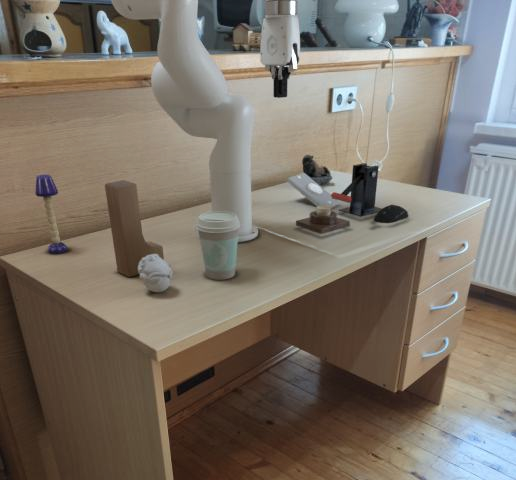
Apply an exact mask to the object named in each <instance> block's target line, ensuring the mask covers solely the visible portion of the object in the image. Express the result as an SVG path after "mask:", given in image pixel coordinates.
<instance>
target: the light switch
mask: <svg viewBox="0 0 516 480" xmlns="http://www.w3.org/2000/svg"><path fill="white" fill-rule="evenodd" d="M286 182H287V183H288V184H289V185H291V186H292V187H293V189H295V190H296V191H298V192H299V193H300V194H301V195H303V197H305V198H306V199H307V200H308V201H310V202H311V203H312V204H313V205H314V206H316V207H317V206H319V205H327V206H330V207H332V206H335V205H337V204H339V203H341V202H340V200H336V199H332V197H331V193H329V192H328V191H327V190H326V189H325V188H323V187H322V185H318V184H317V183H316V182H315V181H314V180H312V179H311V178H310V177H309V176H307V175H306V174H305V173H303V172H302V173H299V174H296V175H292V176H289V177H287V179H286Z"/></svg>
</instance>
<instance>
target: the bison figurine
mask: <svg viewBox="0 0 516 480" xmlns="http://www.w3.org/2000/svg"><path fill="white" fill-rule="evenodd" d="M301 165H302V173H305V174H306V175H307V176H309V177H310V178H311V179H312V180H314V181H315V182H316V183H317V184H318V185H320V186H322V185H327V184H329V183H330V182H331V181H332V180H333V176H332V174H331V171H330V169H328V167H327V166H326V165H323V164H319V163H318V162H316V161H315V160H314V155H311V154H305V155H304V156H303V157H302V160H301Z"/></svg>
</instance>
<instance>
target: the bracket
mask: <svg viewBox="0 0 516 480" xmlns="http://www.w3.org/2000/svg"><path fill="white" fill-rule="evenodd" d="M364 165H367V166H368V163H365V162H362V163H357V164H353V165H352V172H351V173H352V174H351V183H352V182H353V181H354V180H355V179H356V178H357V177H358V176H359V174H358V171H359V170H360V169H361V168H362V167H363V166H364ZM369 166H370V167H365V170H364V180H363V179H362V180H361V181H360V182H359V183H358V185H357V186H356V187H355V188H354V189H353V190H352V191H351V192H350V196H351V199H352V200H351V201H350V202H349V207H344V208H340V209H338V211H339V212H341V213H345V214H349V215H352V216H356V217H360V218H361V217H365V216H370V215H373V214H377V213H378V212H379V211H380V210H381V209H383V207H382V208H381V207H379V206H376V197H377V186H378V177H379V176H378V175H379V165H376V164H375V165H369Z"/></svg>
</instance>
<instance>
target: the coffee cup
mask: <svg viewBox="0 0 516 480" xmlns="http://www.w3.org/2000/svg"><path fill="white" fill-rule="evenodd" d="M195 226H196V228H197V229H198V231H199V234H198V237H199V243H200V248H201V253H202V258H203V259H202V260H203V263H204V264H203V265H204V270H205V276H206V277H207V278H208V279H210V280H217V281H220V280H221V281H222V280H223V281H224V280H229V279H231V278H233V277H234V276H236V265H237V253H238V243H239V242H238V230H239V227H240V222H239V220H238V217H237V215H236V214H235V213H232V212H226V211H213V212H212V211H207V212H203V213H201V214H199V215H198V219H197V222H196V225H195Z"/></svg>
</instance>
